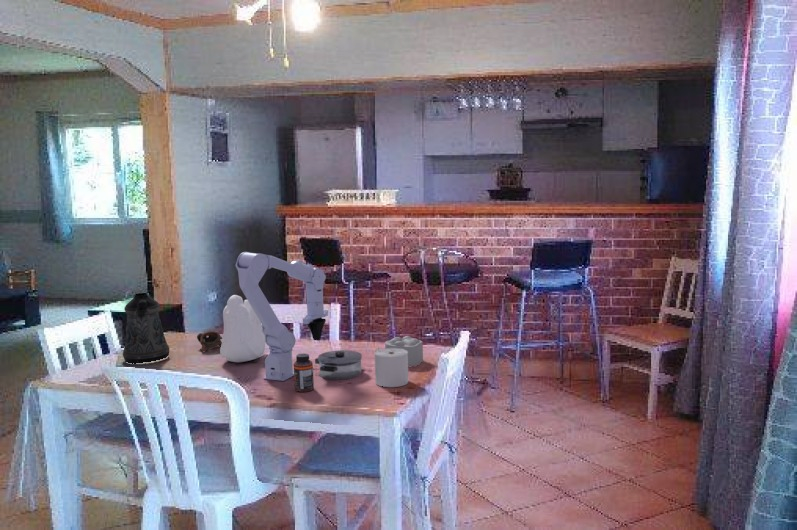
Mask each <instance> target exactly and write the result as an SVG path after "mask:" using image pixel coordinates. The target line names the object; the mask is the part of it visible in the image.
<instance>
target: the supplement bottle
mask: <svg viewBox="0 0 797 530" xmlns="http://www.w3.org/2000/svg"><path fill="white" fill-rule="evenodd" d="M295 357H296V358H295V360H296V361H294V363H293V371H294V376H293V379H294V390H295V391H296V392H298V391H299V392H298V393H307V391H308V392H311V391H312V390H314V387H315V385H314V384H315V383H314V364H313V363H314V362H313V361H311V360H310V354H308V353H299V354H296V356H295Z"/></svg>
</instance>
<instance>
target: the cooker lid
mask: <svg viewBox="0 0 797 530" xmlns="http://www.w3.org/2000/svg"><path fill="white" fill-rule="evenodd" d="M362 357H363V355H362V353H361V352H359V351H355V350H345V349H343V350H341V349H340V350H339V349H337V350H330V351H326V352H323V353H321V354H319V355H318V357H317V358H318V361H319V362H321V363H323V364H328V365H346V364H352V363H356V362H358V361H360V360H361V361H362Z"/></svg>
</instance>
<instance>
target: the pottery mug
mask: <svg viewBox="0 0 797 530" xmlns="http://www.w3.org/2000/svg"><path fill="white" fill-rule="evenodd" d="M222 338H223V336H221V333H219V332H218V331H213V330H209V331H206V332H201V333H198V334H197V336H196V339H197V340H198V342H199V343H200V345H201V352H203V351H205V352H206V351H208V350H212V349H215V348H217V347H220V346H221V344H222V343H223V342H222Z"/></svg>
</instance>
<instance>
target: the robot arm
mask: <svg viewBox="0 0 797 530" xmlns="http://www.w3.org/2000/svg"><path fill="white" fill-rule="evenodd" d="M235 268H236V270H237V273H238V282H239V283H238V284H239V288H240V289H241V291H242V293H243V296H245V298H246V300H248V301H249V303H250V305H251V307H252V308H253V310H254V312H255V313H256V315H257V317H258V318H259V320H260V322H261V324H262V328H264V329H263V330H262V332H263V334H264V336H265V345H266V346H268V349H269V354H268V355H267V356H266V357H265V360H264V369H265V370H264V371H265V376H264V377H263V379H264V380H271V381H282V382H283V381H287V380H288V379H290V378H292V377H294V364H293V348H295V345H296V341H297V339H296V336H295V334H294V333H293V332H291V331H290V330H288V328H287V327H286V326H285V324H282V323H281V322H280V320H279V318H278V316H277V314H276V313H275V311H274V309H273V308H272V306H271V304H270V302H269V301H268V299H267V297H266V296H265V294H264V293H263V291H262V289H261V287H260V286H259V282H261V280H262V278H263V277H264V275H265V274H266V272H267V270H270V269H272V268H273V269H276V270H279V271H284V272H286V273H287V275H288V276H289V277H290V278H292V279H296V280H298V281H302V282H303V283H304V284H305V291H306V292H305V294H306V310H307V311H306V313H307V314H306V315H305V316H304V317H303V318H302V324H303V325H307V326H308V328H309V331H310V333H311V336H312V339H313V341H320V340H321V339H322V332H323V329H324V326H325V323H326V322H327V320H326V317H328V316H329V310H328V309H324V307H325V306H324V283H325V281H326V278H327V275H326V274H325V271H324V270H323V269H322V268H320V267H314V266H313V264H311V263H310V264H309V263H308V264H305V263H303V261H302V260H300V259H297V260H293V261H291V262H289V261H286V260H284V259H282V258H279V257H276V256H274V255H271V254H270V255H269V254H265V253H255V252H250V251H243V252H241V253H240V254H239V255H238V257H237V259H236V262H235Z"/></svg>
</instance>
